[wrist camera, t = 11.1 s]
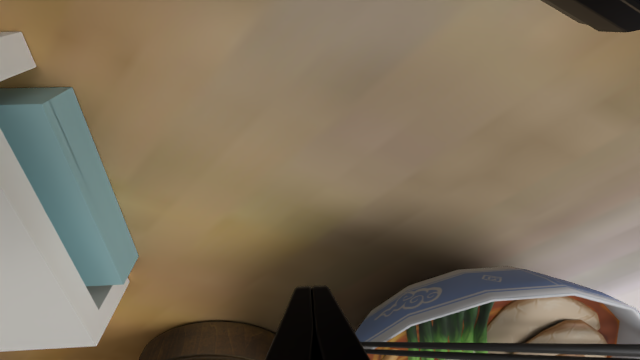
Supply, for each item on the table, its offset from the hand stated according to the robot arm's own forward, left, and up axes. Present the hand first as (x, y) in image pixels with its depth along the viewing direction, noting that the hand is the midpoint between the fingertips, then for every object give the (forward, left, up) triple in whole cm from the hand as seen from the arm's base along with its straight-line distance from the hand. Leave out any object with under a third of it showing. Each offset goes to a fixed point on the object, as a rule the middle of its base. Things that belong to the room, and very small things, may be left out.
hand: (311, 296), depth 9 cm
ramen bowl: (-12, +18, -12) cm, 25 cm away
